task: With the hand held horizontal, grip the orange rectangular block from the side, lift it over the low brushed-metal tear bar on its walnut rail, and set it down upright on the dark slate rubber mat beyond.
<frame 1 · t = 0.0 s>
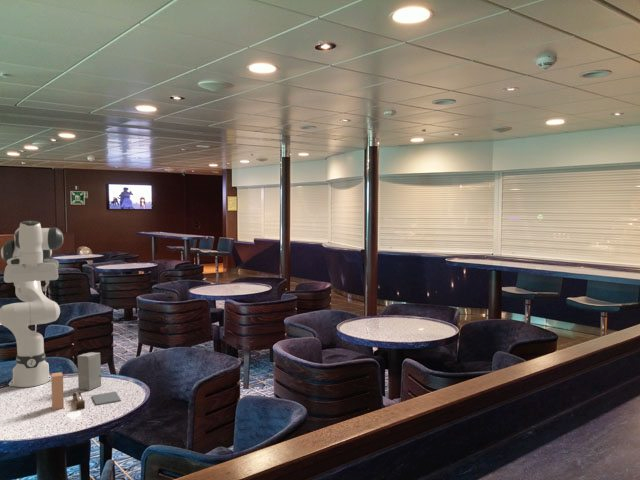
hand: (32, 291, 219), 48 cm above the table, tool pointing down, fingers open, 8 cm apart
tear bar: (78, 403, 221), on the table
mat: (106, 398, 227), on the table
skincare box: (89, 387, 242), on the table
orange rectangular block: (57, 407, 217), on the table
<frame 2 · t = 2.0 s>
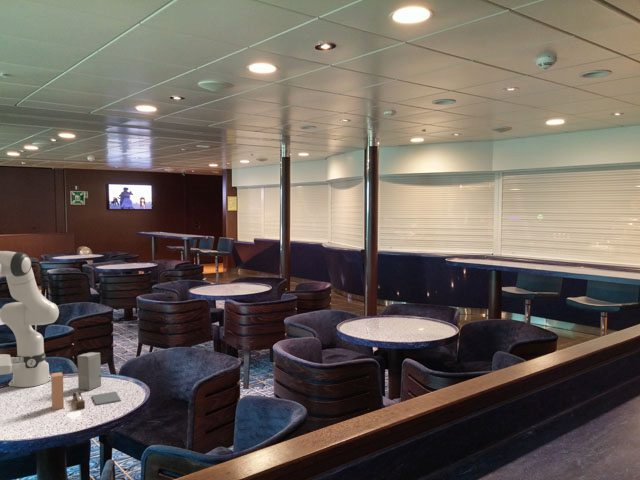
hand: (24, 362, 209), 21 cm above the table, tool horizontal, fingers open, 8 cm apart
nothing on the table moved.
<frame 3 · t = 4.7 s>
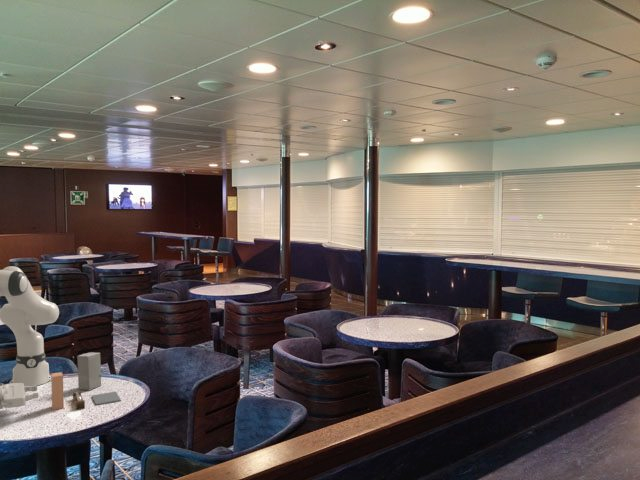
hand: (37, 391, 213), 8 cm above the table, tool horizontal, fingers open, 8 cm apart
nothing on the table moved.
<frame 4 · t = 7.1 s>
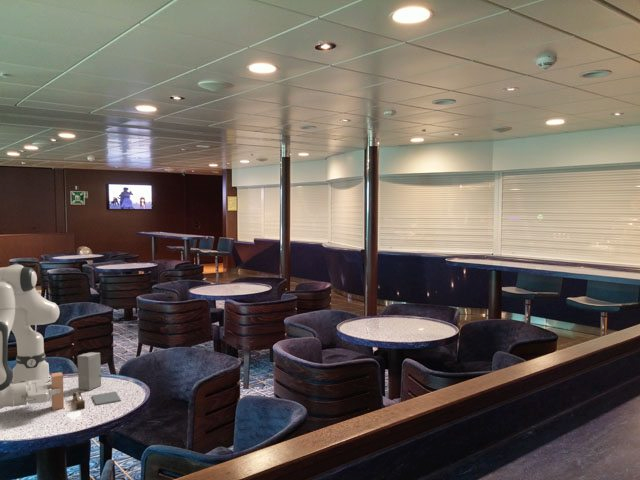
hand: (59, 388, 217), 8 cm above the table, tool horizontal, fingers closed on orange rectangular block, 5 cm apart
orange rectangular block: (57, 407, 217), on the table, touching gripper
everything else where it was.
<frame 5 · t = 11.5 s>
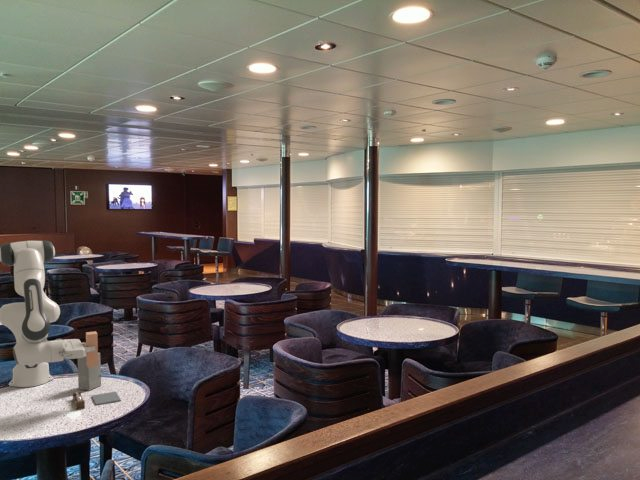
hand: (94, 346, 223), 24 cm above the table, tool horizontal, fingers closed on orange rectangular block, 5 cm apart
orange rectangular block: (92, 365, 223), point 16 cm above the table, touching gripper
everything else where it was.
when the fingers open (10 cm above the table, at t = 15.9 s): orange rectangular block drops 1 cm, resting on mat.
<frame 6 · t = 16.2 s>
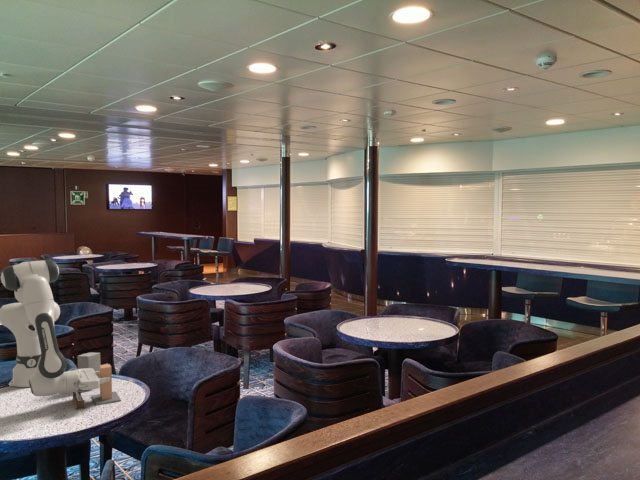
hand: (107, 375, 227), 10 cm above the table, tool horizontal, fingers open, 7 cm apart
orange rectangular block: (106, 397, 227), point 1 cm above the table, touching mat
everything else where it was.
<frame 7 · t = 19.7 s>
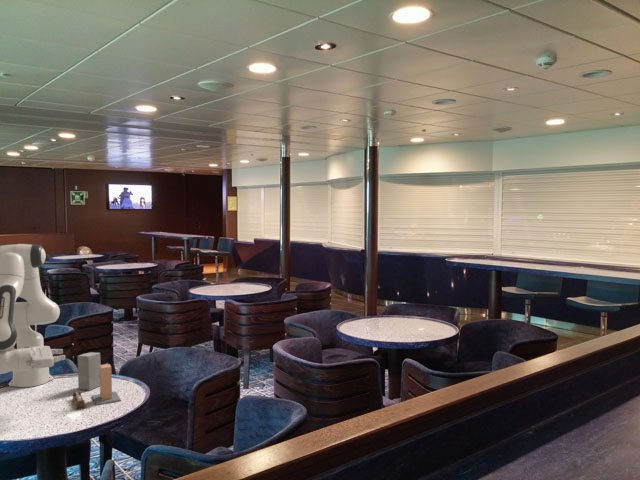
hand: (64, 354, 217), 22 cm above the table, tool horizontal, fingers open, 8 cm apart
nothing on the table moved.
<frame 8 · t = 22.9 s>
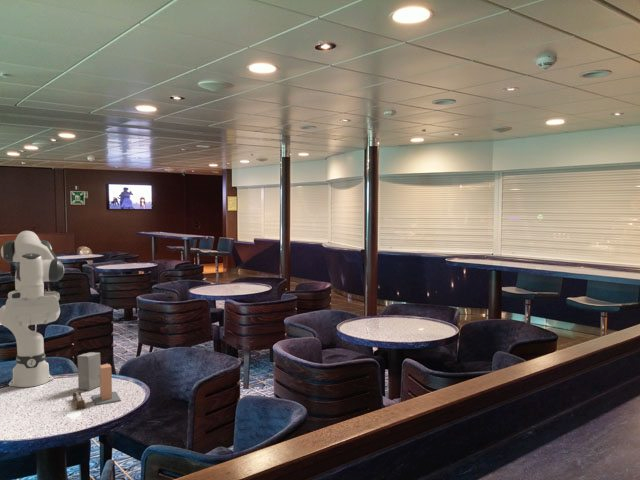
hand: (33, 324, 218), 34 cm above the table, tool pointing down, fingers open, 8 cm apart
nothing on the table moved.
at the end: orange rectangular block 0.0 cm from the mat (horizontally); orange rectangular block tilted 0°; the gripper is holding nothing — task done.
